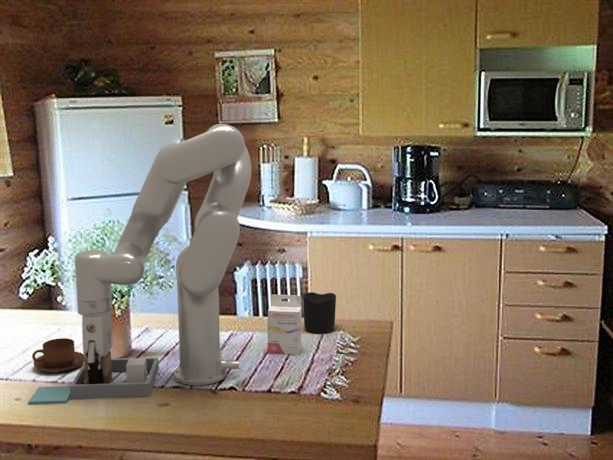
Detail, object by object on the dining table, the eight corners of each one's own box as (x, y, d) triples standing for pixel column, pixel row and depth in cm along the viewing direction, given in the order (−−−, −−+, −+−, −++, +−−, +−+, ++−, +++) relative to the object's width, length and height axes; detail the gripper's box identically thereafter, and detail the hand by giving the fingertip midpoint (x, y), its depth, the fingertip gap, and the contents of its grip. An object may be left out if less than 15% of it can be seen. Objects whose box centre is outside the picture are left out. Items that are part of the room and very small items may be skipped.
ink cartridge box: (267, 353, 180) (266, 299, 177) (269, 347, 184) (269, 293, 182) (299, 355, 179) (299, 300, 176) (301, 348, 184) (301, 294, 181)
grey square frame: (158, 369, 169) (158, 357, 168) (150, 396, 153) (149, 383, 153) (86, 371, 167) (86, 359, 167) (70, 399, 152) (69, 386, 151)
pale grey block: (147, 378, 163) (146, 358, 163) (144, 385, 160) (143, 364, 159) (129, 379, 163) (128, 359, 162) (127, 385, 159) (126, 365, 158)
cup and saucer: (50, 380, 163) (48, 355, 161) (24, 367, 170) (23, 344, 169) (94, 366, 172) (93, 342, 170) (69, 354, 179) (67, 332, 178)
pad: (75, 388, 158) (75, 385, 158) (66, 403, 150) (66, 400, 150) (39, 389, 157) (39, 386, 157) (28, 404, 149) (28, 401, 149)
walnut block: (112, 379, 163) (110, 351, 161) (108, 388, 158) (106, 359, 157) (90, 380, 162) (88, 351, 161) (85, 388, 157) (84, 359, 156)
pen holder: (318, 336, 193) (318, 302, 191) (296, 328, 200) (296, 295, 198) (342, 329, 199) (342, 296, 197) (320, 322, 206) (320, 289, 204)
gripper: (104, 315, 149) (108, 395, 152) (118, 294, 165) (121, 366, 169) (68, 316, 148) (73, 396, 151) (86, 295, 165) (90, 367, 168)
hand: (98, 380), depth 160 cm, fingers closed on walnut block, 5 cm apart
